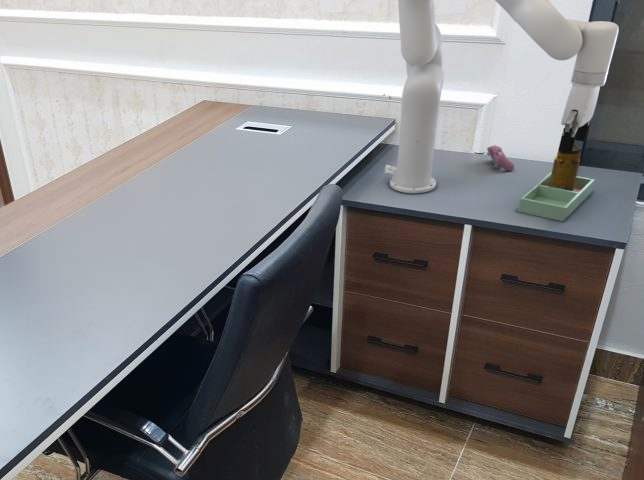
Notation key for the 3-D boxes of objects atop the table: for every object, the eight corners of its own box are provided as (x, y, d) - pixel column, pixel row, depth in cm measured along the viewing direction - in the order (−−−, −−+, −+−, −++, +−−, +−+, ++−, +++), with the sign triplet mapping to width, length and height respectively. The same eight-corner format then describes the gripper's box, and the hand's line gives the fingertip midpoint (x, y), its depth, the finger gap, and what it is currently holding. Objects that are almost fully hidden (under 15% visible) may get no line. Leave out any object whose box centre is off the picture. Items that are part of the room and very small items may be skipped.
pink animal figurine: (489, 165, 216) (482, 145, 213) (504, 157, 215) (497, 137, 212) (500, 177, 208) (492, 157, 205) (516, 169, 207) (508, 149, 203)
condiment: (554, 184, 195) (563, 141, 189) (585, 192, 190) (596, 148, 183) (540, 192, 192) (549, 149, 185) (572, 200, 186) (582, 156, 180)
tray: (517, 211, 185) (520, 198, 183) (548, 183, 198) (551, 171, 196) (563, 221, 179) (566, 208, 177) (591, 192, 192) (595, 179, 190)
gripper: (584, 67, 182) (568, 133, 191) (560, 83, 171) (544, 152, 181) (616, 71, 178) (598, 138, 187) (593, 87, 167) (575, 158, 177)
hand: (571, 145), depth 184 cm, fingers open, 9 cm apart
